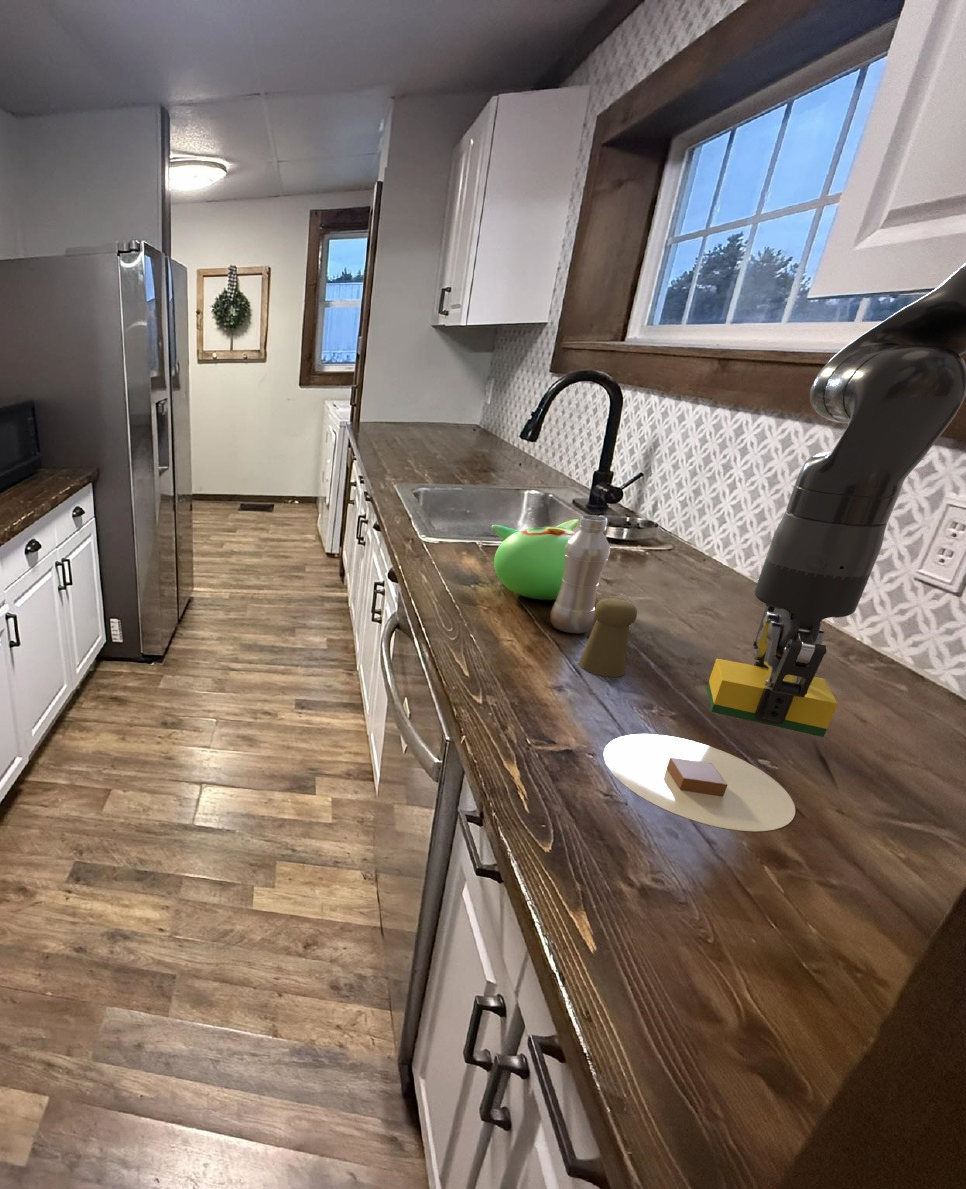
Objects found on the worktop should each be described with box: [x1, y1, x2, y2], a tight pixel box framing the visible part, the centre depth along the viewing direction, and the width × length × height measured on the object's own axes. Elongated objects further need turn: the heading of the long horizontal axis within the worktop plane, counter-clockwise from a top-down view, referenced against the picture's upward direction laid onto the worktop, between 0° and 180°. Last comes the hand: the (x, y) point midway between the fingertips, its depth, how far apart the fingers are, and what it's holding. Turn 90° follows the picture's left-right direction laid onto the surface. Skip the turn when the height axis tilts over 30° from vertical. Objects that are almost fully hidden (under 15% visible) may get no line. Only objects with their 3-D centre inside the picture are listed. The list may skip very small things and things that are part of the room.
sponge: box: [706, 658, 839, 738], centre depth 68 cm, size 9×6×4 cm, turn 56°
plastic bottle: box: [550, 514, 611, 634], centre depth 106 cm, size 6×7×20 cm
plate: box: [603, 733, 796, 833], centre depth 71 cm, size 22×22×1 cm
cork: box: [578, 597, 638, 678], centre depth 95 cm, size 6×6×11 cm
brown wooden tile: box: [667, 757, 727, 796], centre depth 70 cm, size 4×4×2 cm
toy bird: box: [491, 518, 580, 601], centre depth 122 cm, size 18×17×15 cm
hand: (762, 706), depth 69 cm, fingers closed on sponge, 6 cm apart
